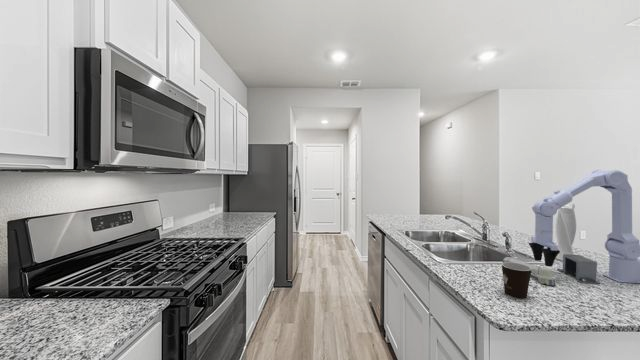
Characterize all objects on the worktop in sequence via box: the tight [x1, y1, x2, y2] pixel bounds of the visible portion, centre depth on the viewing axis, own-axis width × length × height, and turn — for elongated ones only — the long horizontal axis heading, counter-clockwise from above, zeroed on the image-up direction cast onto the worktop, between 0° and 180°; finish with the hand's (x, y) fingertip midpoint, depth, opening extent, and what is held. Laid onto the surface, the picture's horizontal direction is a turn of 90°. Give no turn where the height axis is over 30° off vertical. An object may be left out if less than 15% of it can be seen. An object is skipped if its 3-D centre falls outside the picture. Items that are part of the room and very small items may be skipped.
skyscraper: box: [555, 202, 577, 263], centre depth 137 cm, size 8×8×28 cm
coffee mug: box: [501, 262, 532, 300], centre depth 101 cm, size 12×9×10 cm
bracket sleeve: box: [557, 254, 601, 285], centre depth 117 cm, size 6×14×8 cm, turn 170°
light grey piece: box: [502, 256, 557, 286], centre depth 120 cm, size 5×7×25 cm
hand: (543, 263), depth 119 cm, fingers open, 7 cm apart
